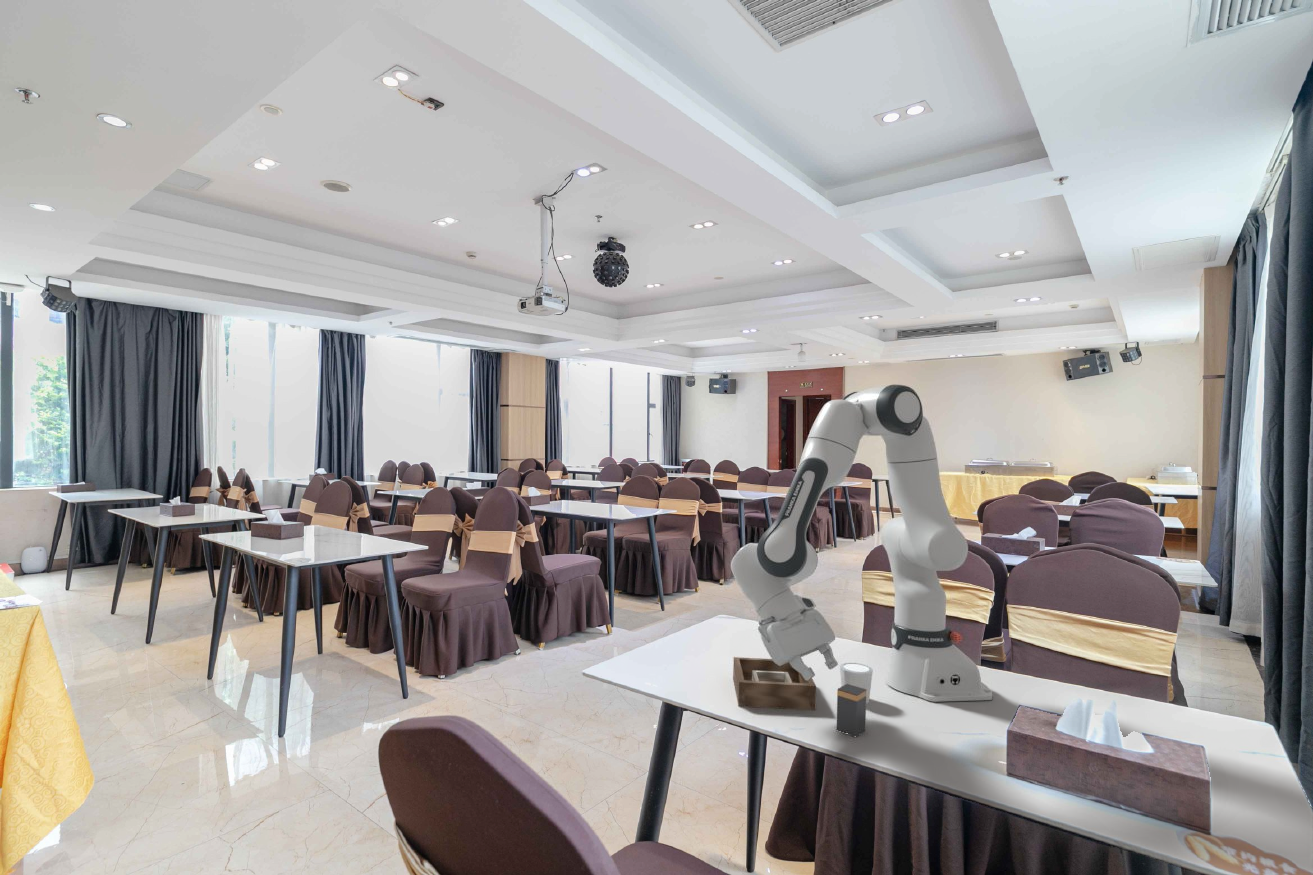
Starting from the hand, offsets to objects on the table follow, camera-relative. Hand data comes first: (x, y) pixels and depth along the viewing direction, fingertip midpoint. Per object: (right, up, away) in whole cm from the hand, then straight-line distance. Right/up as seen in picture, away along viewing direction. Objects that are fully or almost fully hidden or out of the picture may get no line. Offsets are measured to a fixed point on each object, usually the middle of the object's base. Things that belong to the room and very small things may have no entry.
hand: (823, 672), depth 127 cm
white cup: (+10, -10, +11) cm, 18 cm away
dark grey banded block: (+4, -10, -4) cm, 11 cm away
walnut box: (-8, -10, +13) cm, 18 cm away
